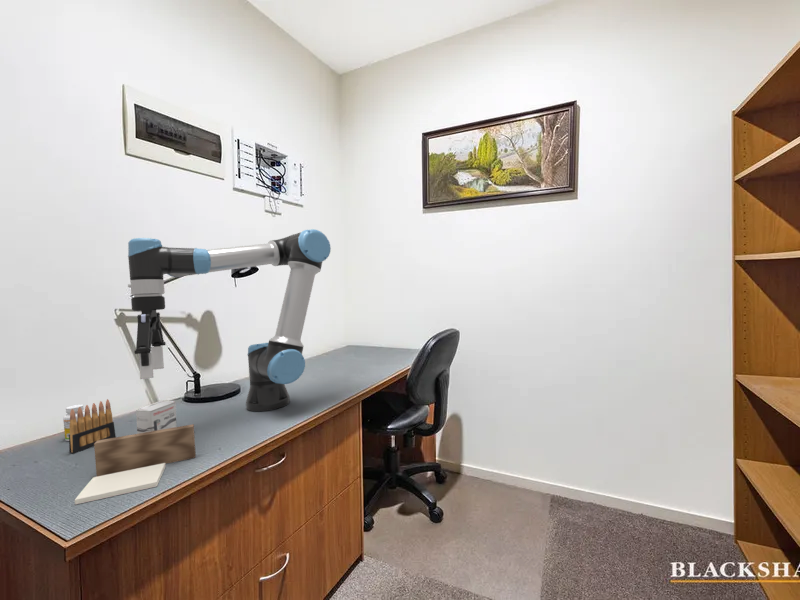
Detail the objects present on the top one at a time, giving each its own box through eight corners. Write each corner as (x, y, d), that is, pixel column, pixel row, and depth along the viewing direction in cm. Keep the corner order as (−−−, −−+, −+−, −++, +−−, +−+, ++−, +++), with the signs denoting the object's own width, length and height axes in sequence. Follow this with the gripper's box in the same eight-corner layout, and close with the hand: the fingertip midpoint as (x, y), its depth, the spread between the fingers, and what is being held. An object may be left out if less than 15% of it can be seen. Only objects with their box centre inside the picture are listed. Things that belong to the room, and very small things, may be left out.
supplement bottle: (85, 433, 114) (83, 402, 114) (91, 436, 111) (88, 405, 111) (62, 439, 110) (60, 407, 110) (67, 443, 107) (65, 410, 107)
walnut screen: (195, 454, 94) (193, 424, 94) (194, 457, 92) (192, 426, 92) (99, 473, 86) (97, 440, 86) (96, 477, 85) (94, 443, 84)
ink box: (153, 454, 96) (149, 410, 95) (137, 454, 97) (134, 409, 96) (179, 441, 104) (176, 399, 104) (164, 440, 105) (161, 399, 105)
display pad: (165, 466, 88) (165, 462, 88) (156, 486, 79) (156, 481, 79) (93, 481, 83) (93, 477, 83) (75, 504, 74) (74, 499, 74)
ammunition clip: (73, 453, 99) (70, 410, 99) (69, 453, 100) (65, 409, 99) (115, 438, 109) (113, 398, 109) (111, 437, 110) (108, 398, 109)
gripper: (142, 296, 109) (147, 367, 110) (116, 296, 86) (122, 385, 87) (172, 295, 112) (176, 364, 113) (154, 294, 89) (159, 380, 90)
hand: (152, 373), depth 100 cm, fingers open, 13 cm apart
